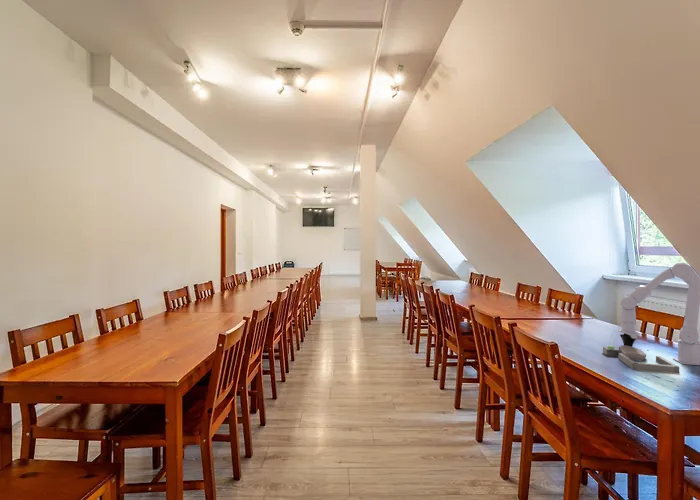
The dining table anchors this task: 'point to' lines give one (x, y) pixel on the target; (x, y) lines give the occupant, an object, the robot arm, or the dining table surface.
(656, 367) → the corral
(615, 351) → the button box
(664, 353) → the dining table surface
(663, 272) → the robot arm
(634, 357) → the stone block
